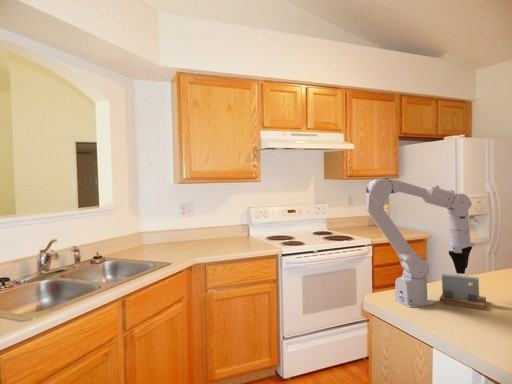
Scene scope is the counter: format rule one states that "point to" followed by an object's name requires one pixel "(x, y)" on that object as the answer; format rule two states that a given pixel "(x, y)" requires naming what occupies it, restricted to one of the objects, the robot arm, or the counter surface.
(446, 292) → the short dark cabinet legs
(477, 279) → the grey rectangular block
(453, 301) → the cabinet base
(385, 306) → the counter surface
